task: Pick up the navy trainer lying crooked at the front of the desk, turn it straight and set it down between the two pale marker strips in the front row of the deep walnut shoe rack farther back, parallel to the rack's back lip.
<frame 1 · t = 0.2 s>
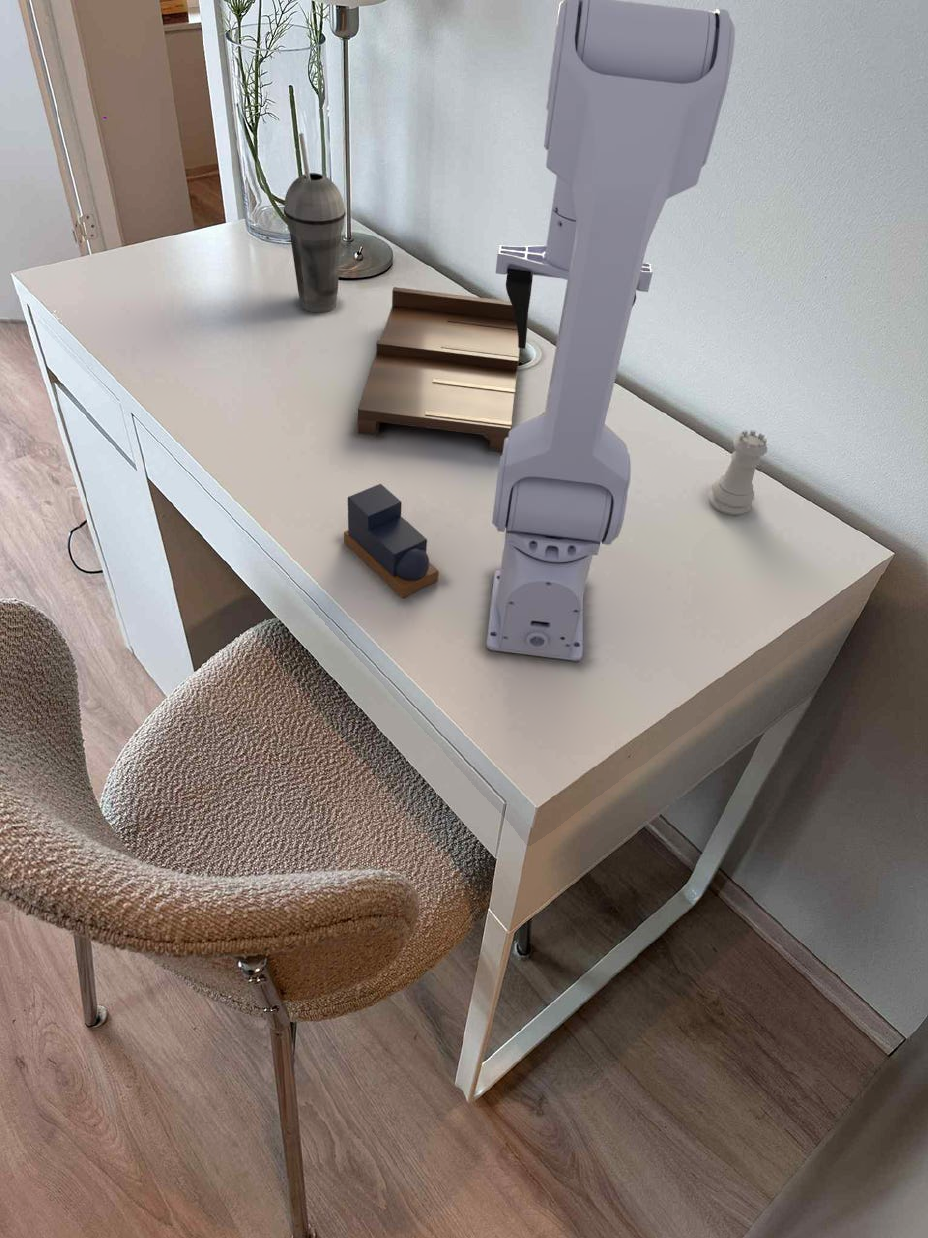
hand: (559, 348, 89), 10 cm above the table, tool pointing down, fingers open, 7 cm apart
beverage cup: (318, 305, 113), on the table
rook chess piece: (728, 504, 91), on the table
shoe shelf: (445, 383, 102), on the table
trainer: (390, 560, 80), on the table
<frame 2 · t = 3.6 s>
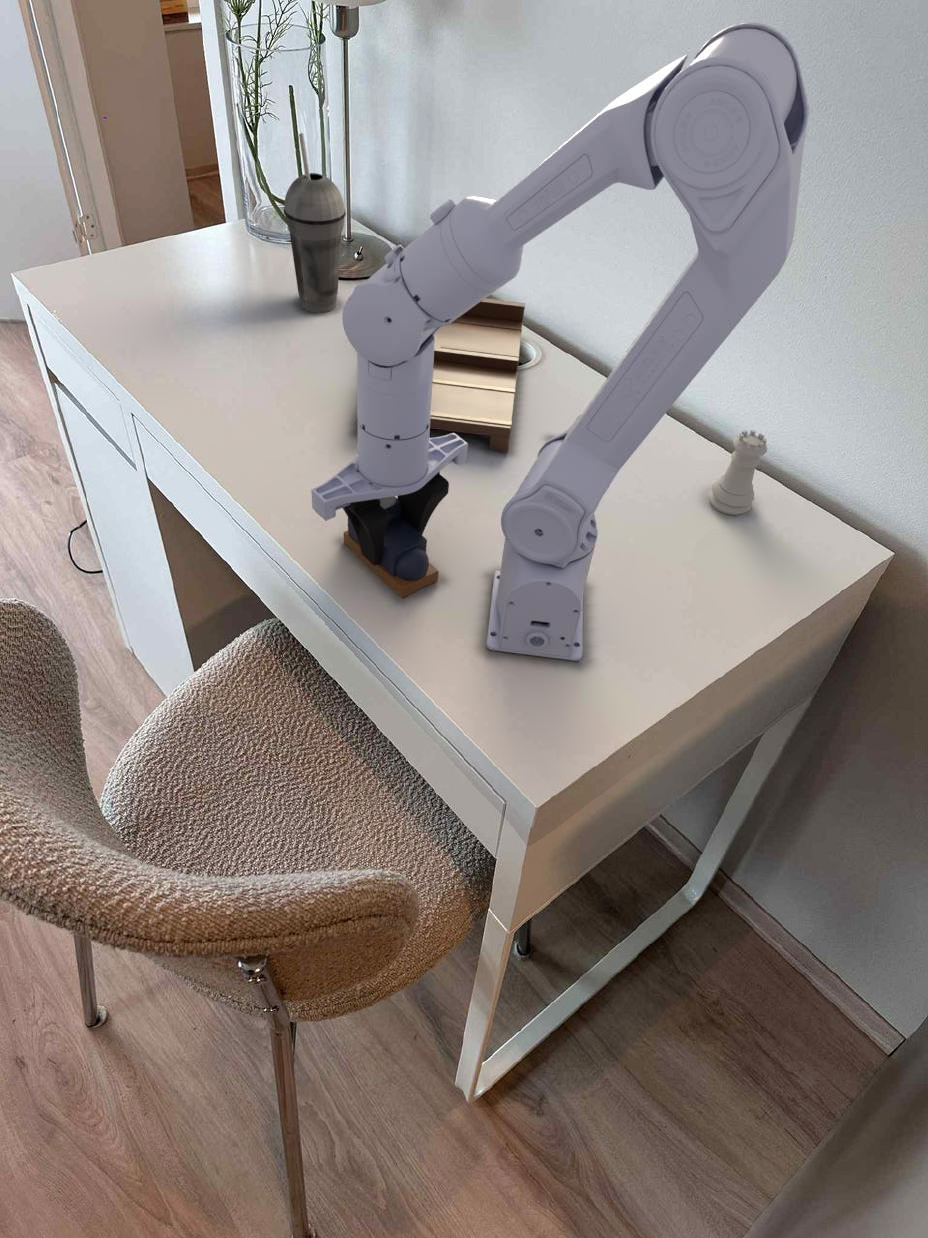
hand: (390, 549, 79), 1 cm above the table, tool pointing down, fingers closed on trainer, 3 cm apart
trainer: (390, 561, 80), on the table, touching gripper
everything else where it was.
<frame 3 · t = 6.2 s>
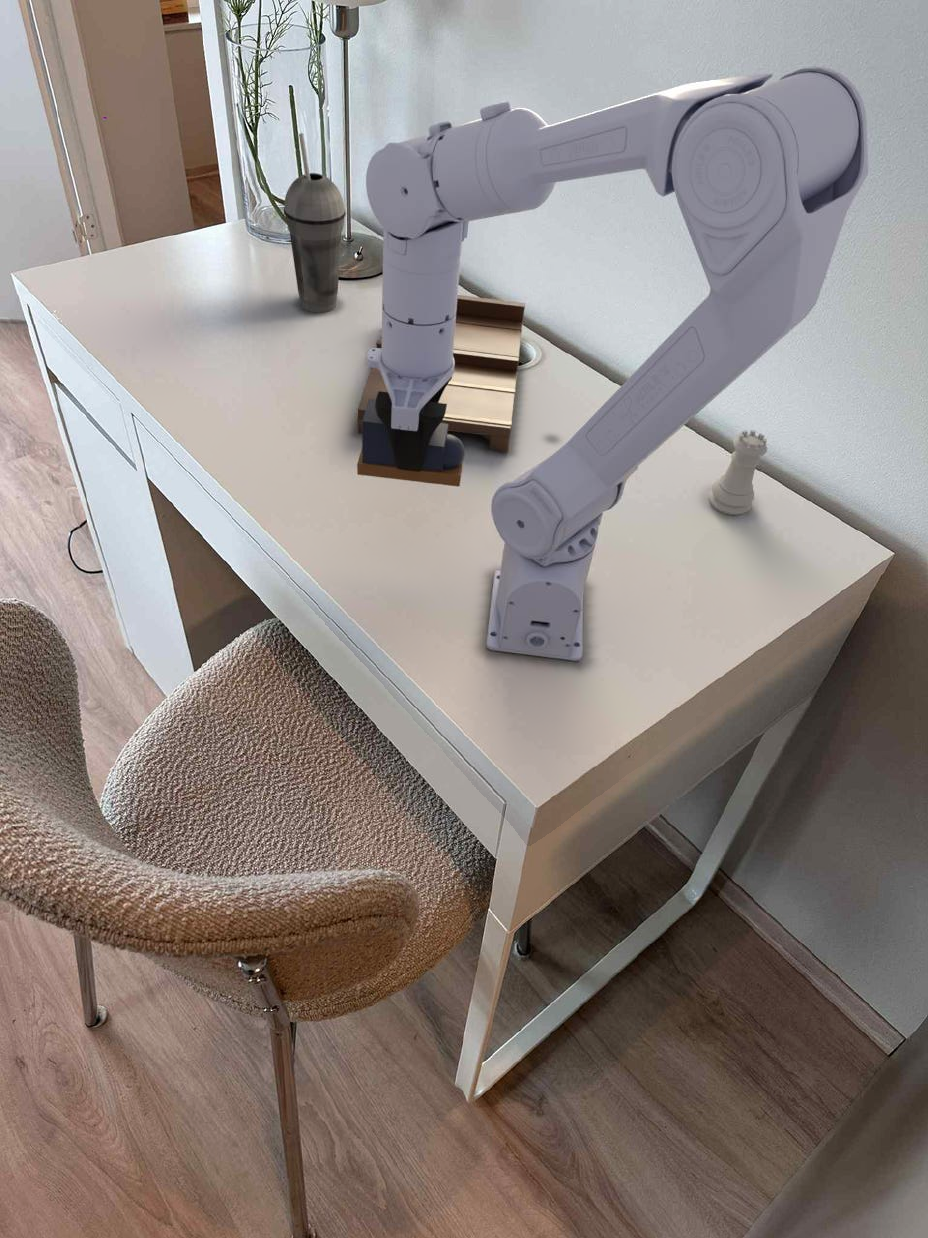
hand: (412, 453, 78), 8 cm above the table, tool pointing down, fingers closed on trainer, 3 cm apart
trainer: (411, 467, 79), point 7 cm above the table, touching gripper
everything else where it was.
when the fingers open (4 cm above the table, at t = 9.0 s): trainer stays where it is, resting on shoe shelf.
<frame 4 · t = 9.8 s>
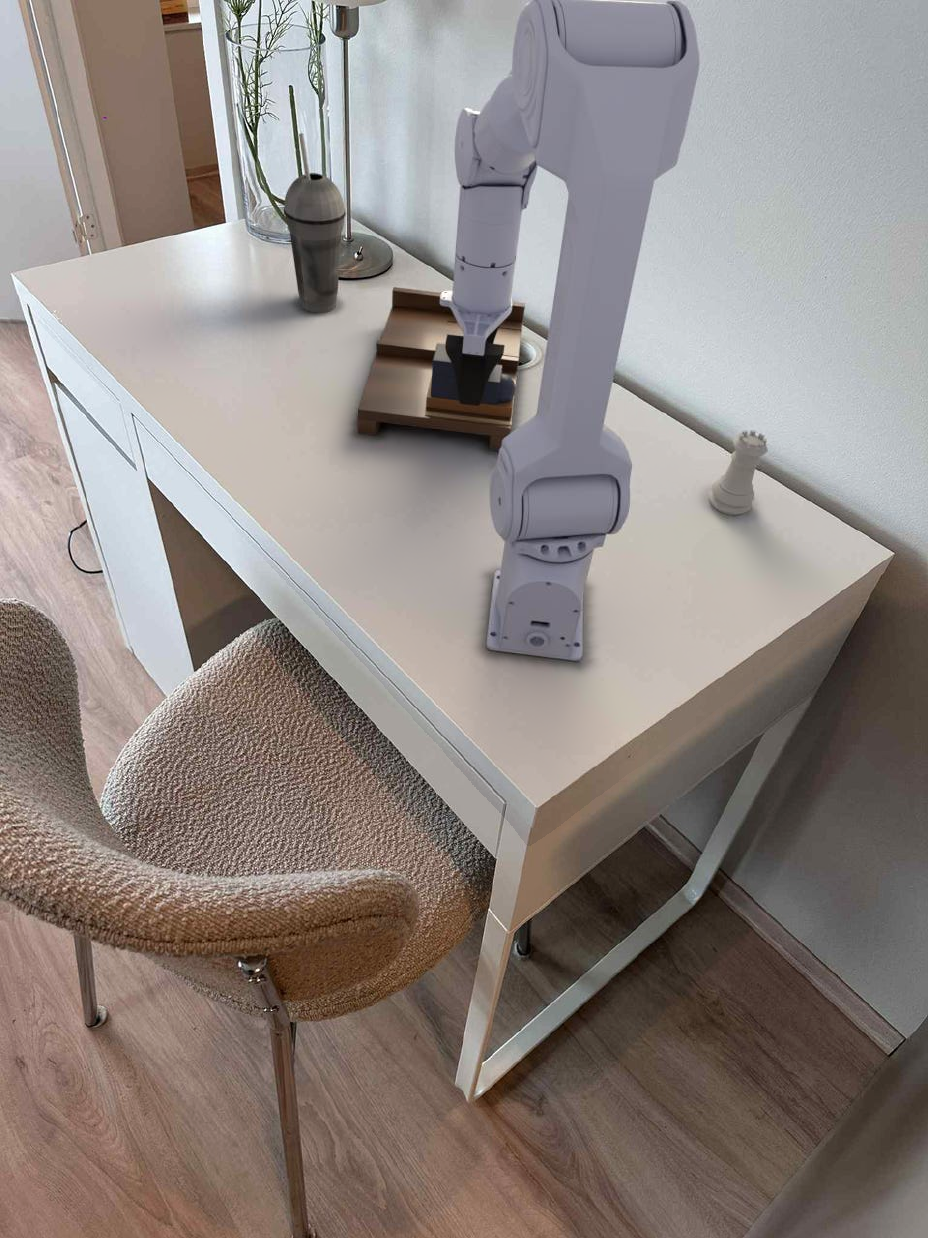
hand: (473, 383, 92), 5 cm above the table, tool pointing down, fingers open, 7 cm apart
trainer: (470, 402, 94), point 3 cm above the table, touching shoe shelf
everything else where it was.
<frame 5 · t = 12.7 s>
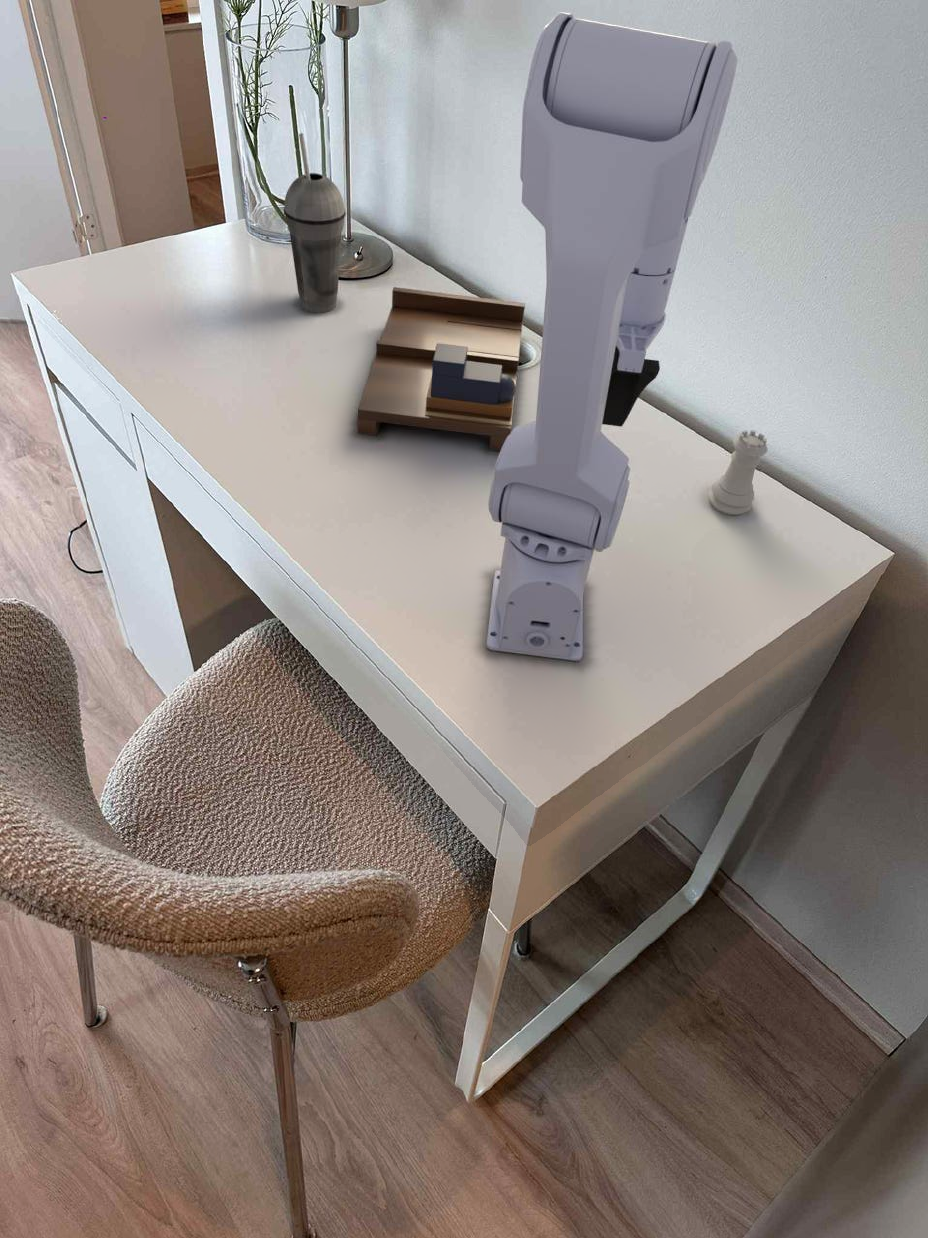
hand: (610, 400, 85), 9 cm above the table, tool pointing down, fingers open, 7 cm apart
nothing on the table moved.
at the end: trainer 0.1 cm from the target spot on the shoe shelf, point 3.0 cm above the shoe shelf's base; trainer tilted 0°; the gripper is holding nothing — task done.
